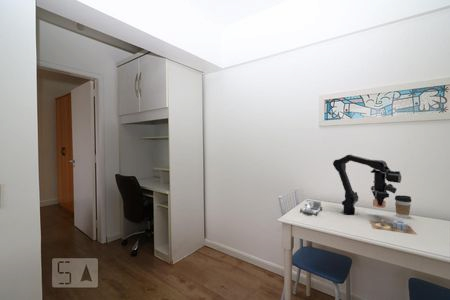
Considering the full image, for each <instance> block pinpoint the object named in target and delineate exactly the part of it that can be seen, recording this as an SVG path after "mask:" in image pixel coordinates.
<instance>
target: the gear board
mask: <svg viewBox="0 0 450 300" xmlns="http://www.w3.org/2000/svg"><path fill="white" fill-rule="evenodd" d="M385 221H386V220H385V218H381V219H380V221H375V220H369V219H368V222H369V224H370V226H371V228H372V229H375V230H381V231H388V232H393V233H401V234H407V235H408V234H409V235H415V236H418V233H417V232H416V231H415V230H414V229H413V228H412V226H410V225H408V224H407V230H406V231H402V230H398V229H395V228H393V222H392V223H391V222H385ZM402 221H403V220H400V221H399V220H398V223H402Z"/></svg>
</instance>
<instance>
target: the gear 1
mask: <svg viewBox="0 0 450 300" xmlns="http://www.w3.org/2000/svg"><path fill="white" fill-rule="evenodd" d="M372 206H373V207H375V208H381V209H382V208H386V200H385V199H384V200H383V203H382V206H379V204H378V202H377V199H375V198H374V199H372Z"/></svg>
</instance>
